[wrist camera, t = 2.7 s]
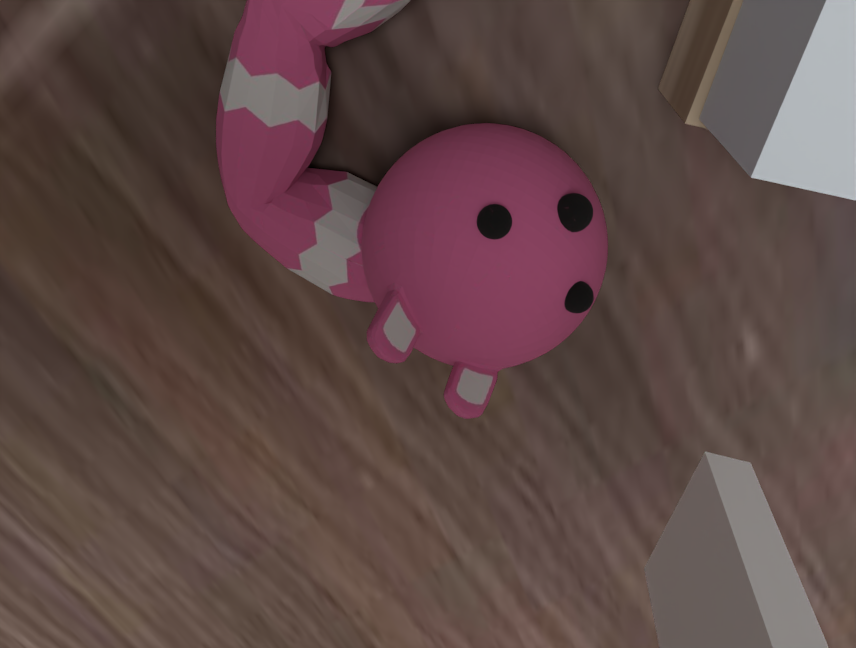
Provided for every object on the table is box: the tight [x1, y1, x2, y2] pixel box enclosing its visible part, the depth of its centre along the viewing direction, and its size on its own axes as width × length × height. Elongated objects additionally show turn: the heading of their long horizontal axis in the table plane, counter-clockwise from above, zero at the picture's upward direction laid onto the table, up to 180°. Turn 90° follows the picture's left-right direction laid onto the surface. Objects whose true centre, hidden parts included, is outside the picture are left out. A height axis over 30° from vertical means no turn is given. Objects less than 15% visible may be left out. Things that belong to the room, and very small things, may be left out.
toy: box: [216, 0, 608, 419], centre depth 19 cm, size 11×9×10 cm
